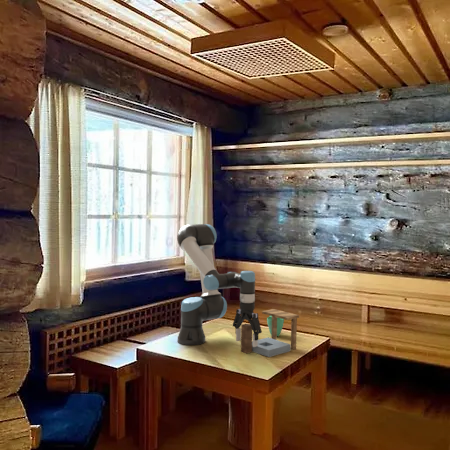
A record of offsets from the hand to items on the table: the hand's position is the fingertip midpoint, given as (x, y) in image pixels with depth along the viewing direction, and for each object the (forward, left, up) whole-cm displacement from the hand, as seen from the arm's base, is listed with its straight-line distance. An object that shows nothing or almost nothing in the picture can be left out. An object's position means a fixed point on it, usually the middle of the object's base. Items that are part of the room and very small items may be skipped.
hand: (246, 343), depth 253 cm
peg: (0, 0, -4) cm, 4 cm away
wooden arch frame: (+5, +20, -4) cm, 21 cm away
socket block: (+5, +11, -4) cm, 13 cm away
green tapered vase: (-14, +35, -5) cm, 38 cm away
